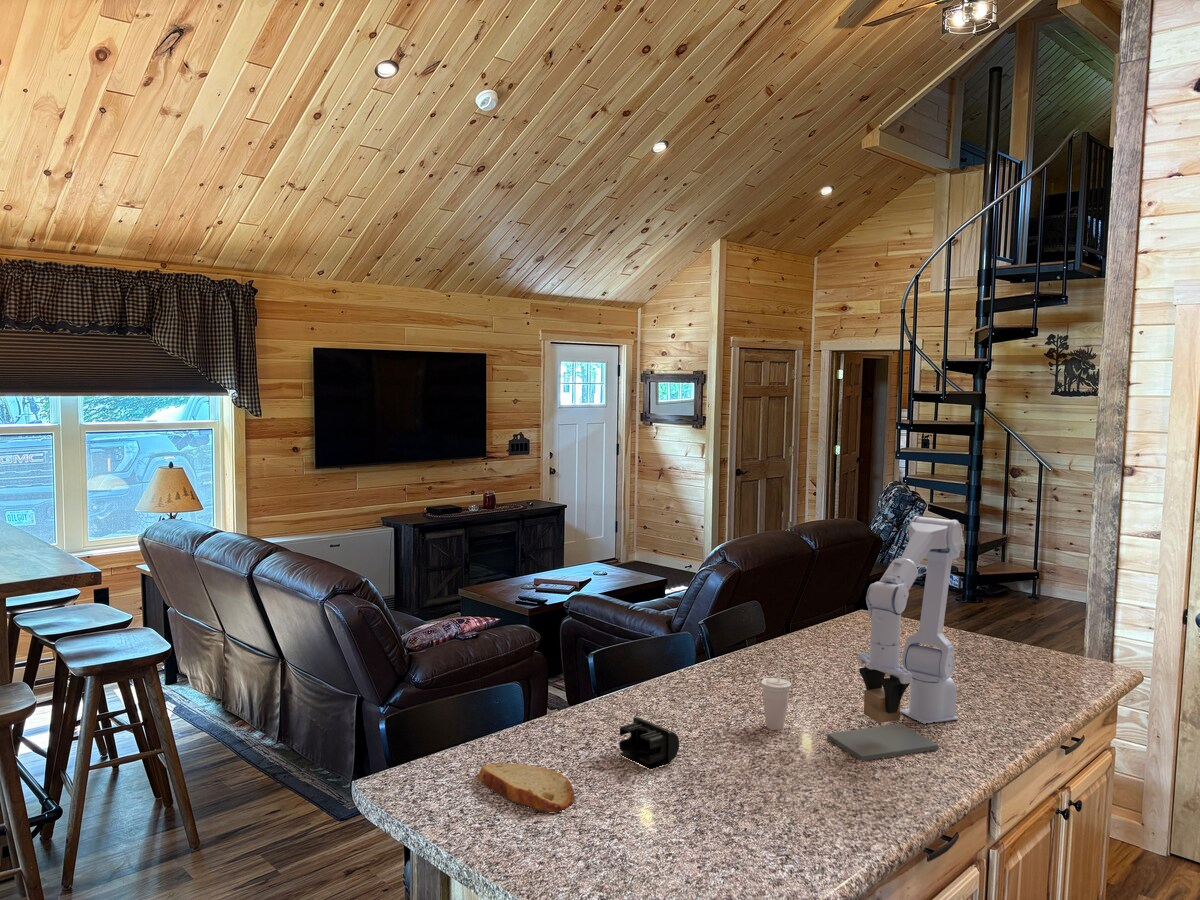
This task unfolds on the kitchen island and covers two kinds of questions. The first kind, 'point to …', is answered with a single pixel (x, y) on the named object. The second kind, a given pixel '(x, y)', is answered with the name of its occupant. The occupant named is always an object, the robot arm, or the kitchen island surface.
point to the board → (881, 742)
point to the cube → (878, 706)
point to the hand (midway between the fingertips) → (883, 707)
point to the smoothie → (775, 700)
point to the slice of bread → (529, 786)
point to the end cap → (648, 743)
